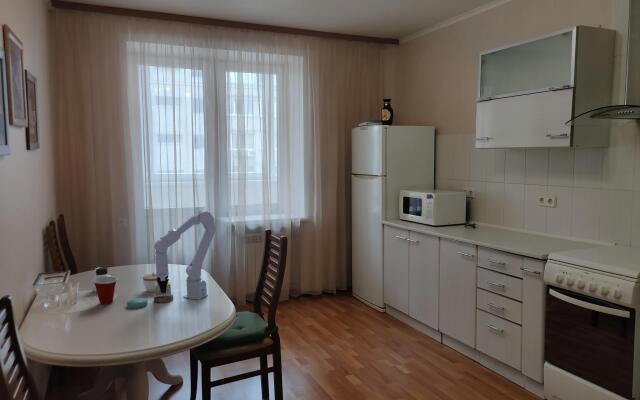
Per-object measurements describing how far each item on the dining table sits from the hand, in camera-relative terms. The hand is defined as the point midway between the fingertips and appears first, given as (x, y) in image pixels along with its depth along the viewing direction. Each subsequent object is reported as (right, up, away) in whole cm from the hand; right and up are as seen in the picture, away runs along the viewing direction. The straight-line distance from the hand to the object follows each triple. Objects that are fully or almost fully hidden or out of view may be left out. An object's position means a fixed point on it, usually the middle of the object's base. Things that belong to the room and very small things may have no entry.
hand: (163, 291), depth 232 cm
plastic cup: (-27, -5, -2) cm, 27 cm away
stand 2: (0, -4, 0) cm, 4 cm away
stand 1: (-10, -5, -7) cm, 13 cm away
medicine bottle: (-39, -3, +20) cm, 44 cm away
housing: (0, -1, 0) cm, 1 cm away
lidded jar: (-11, -3, +18) cm, 21 cm away
